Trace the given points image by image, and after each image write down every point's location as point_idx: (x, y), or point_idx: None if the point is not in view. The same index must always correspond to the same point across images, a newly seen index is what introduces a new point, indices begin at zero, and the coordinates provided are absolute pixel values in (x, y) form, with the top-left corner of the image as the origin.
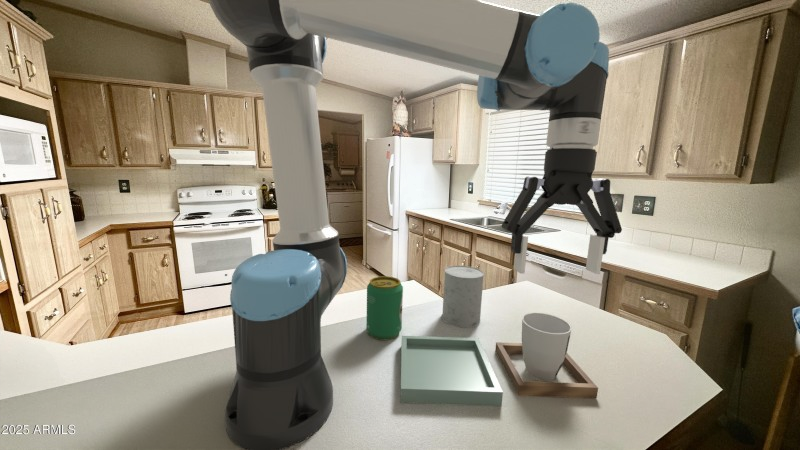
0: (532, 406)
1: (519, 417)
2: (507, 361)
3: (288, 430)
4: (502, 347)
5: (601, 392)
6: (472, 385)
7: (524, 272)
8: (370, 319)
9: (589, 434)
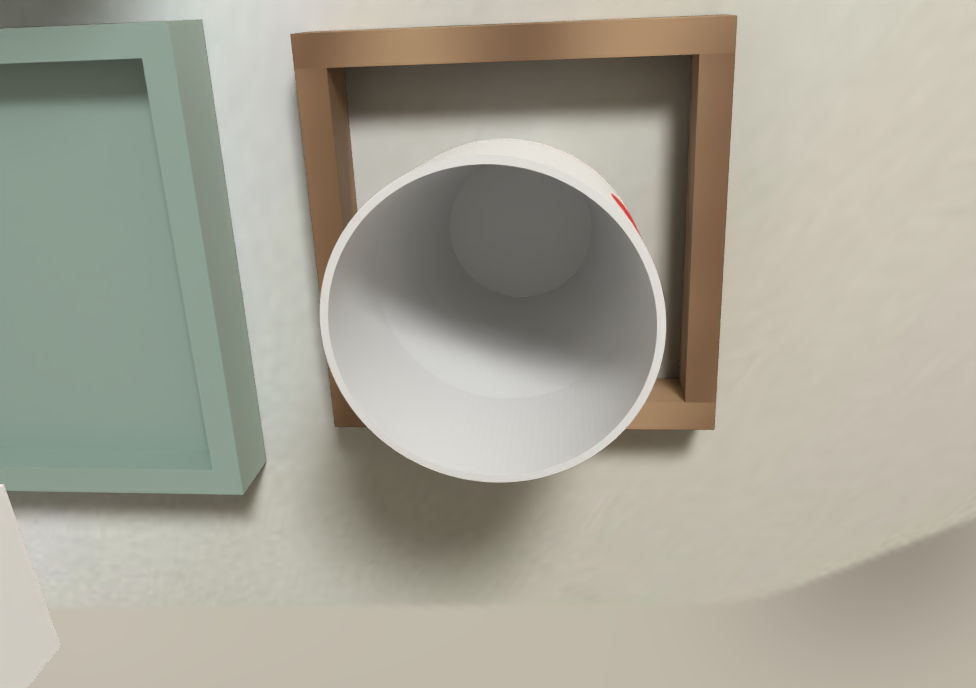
0: (393, 456)
1: (324, 509)
2: (319, 248)
3: None
4: (320, 99)
5: (762, 362)
6: (141, 392)
7: (53, 653)
8: None
9: (555, 573)
